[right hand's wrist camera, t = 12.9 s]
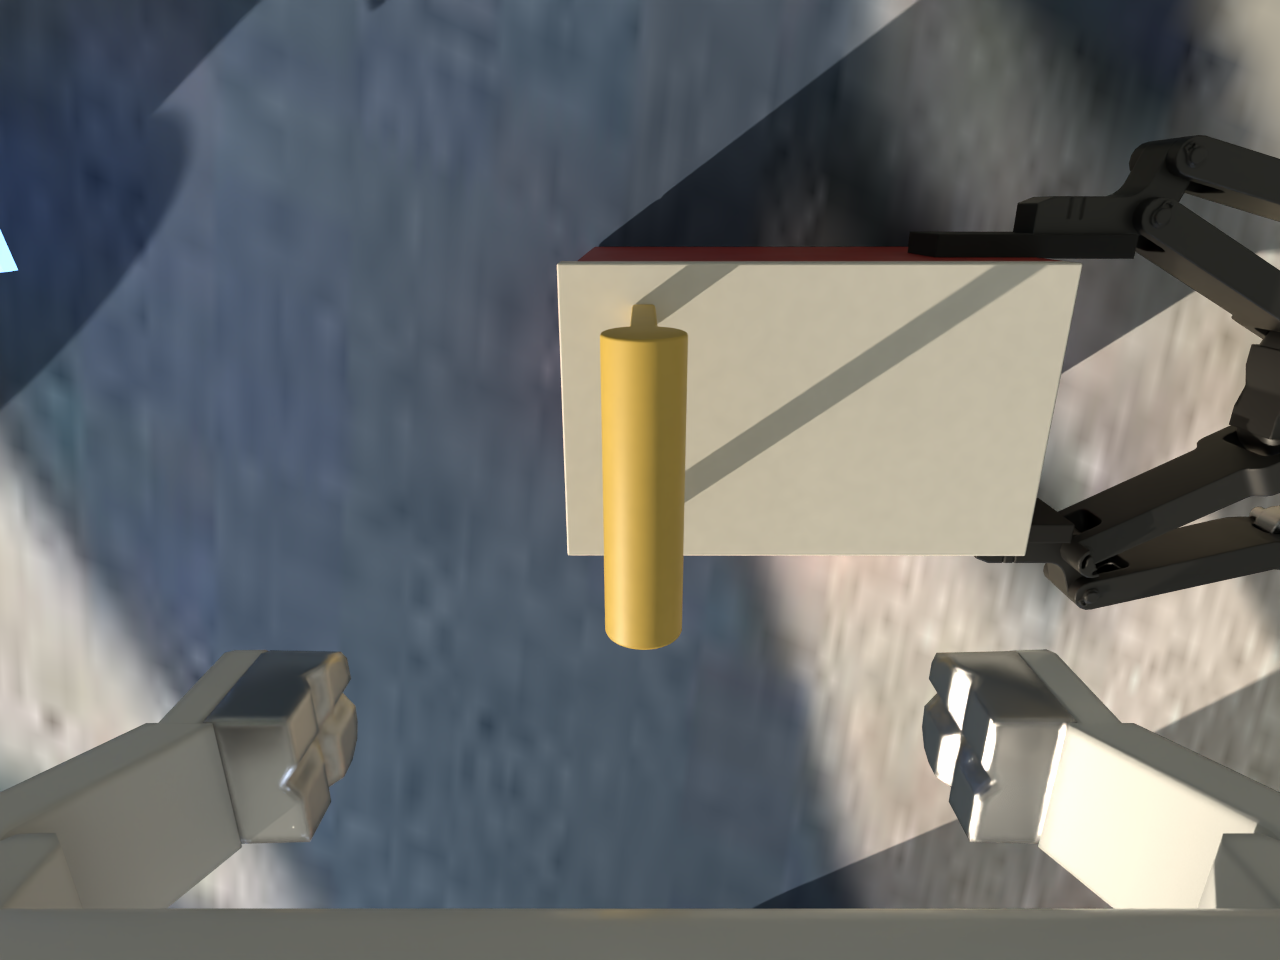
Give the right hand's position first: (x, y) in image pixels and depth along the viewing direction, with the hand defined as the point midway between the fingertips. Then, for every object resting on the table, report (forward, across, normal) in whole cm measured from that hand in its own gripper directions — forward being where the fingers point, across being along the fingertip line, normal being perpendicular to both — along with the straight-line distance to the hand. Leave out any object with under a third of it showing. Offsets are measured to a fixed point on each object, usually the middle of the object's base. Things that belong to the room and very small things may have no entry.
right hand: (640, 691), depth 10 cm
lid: (+15, +5, 0) cm, 16 cm away
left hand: (+18, +10, 0) cm, 20 cm away
